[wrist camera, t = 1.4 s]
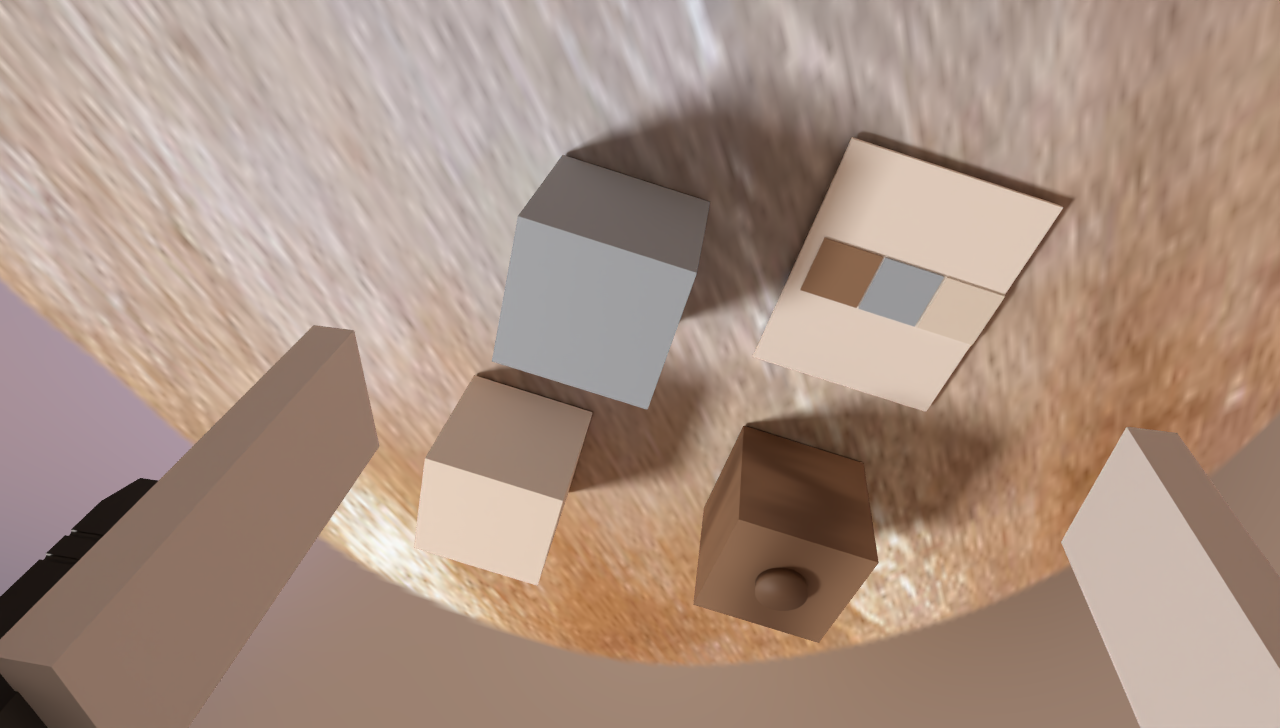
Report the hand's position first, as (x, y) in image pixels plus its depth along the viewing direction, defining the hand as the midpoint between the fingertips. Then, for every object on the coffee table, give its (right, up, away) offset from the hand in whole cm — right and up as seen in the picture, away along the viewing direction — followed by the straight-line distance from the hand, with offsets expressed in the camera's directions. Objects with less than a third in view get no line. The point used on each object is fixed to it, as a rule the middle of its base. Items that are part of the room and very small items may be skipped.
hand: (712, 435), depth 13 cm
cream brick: (-7, -2, +24) cm, 25 cm away
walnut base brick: (+6, -5, +23) cm, 24 cm away
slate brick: (-2, +6, +17) cm, 18 cm away
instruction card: (+9, +4, +16) cm, 19 cm away
